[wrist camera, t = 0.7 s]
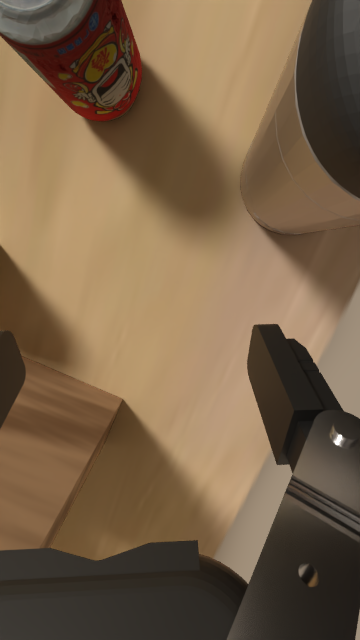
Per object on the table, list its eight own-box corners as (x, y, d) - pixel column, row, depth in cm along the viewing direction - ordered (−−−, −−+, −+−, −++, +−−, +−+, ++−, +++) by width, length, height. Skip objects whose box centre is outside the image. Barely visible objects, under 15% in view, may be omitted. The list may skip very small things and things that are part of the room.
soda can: (113, 148, 27) (39, 68, 15) (50, 91, 26) (-79, -39, 15) (164, 75, 25) (126, -78, 14) (98, 13, 25) (-3, -203, 13)
